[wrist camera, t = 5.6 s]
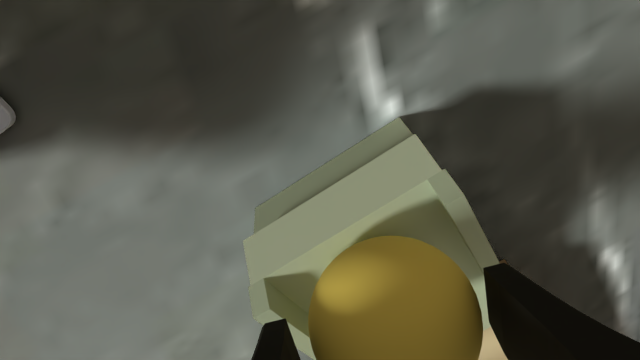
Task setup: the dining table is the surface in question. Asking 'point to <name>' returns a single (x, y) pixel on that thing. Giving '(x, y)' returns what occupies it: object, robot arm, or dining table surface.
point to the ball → (394, 305)
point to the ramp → (358, 223)
